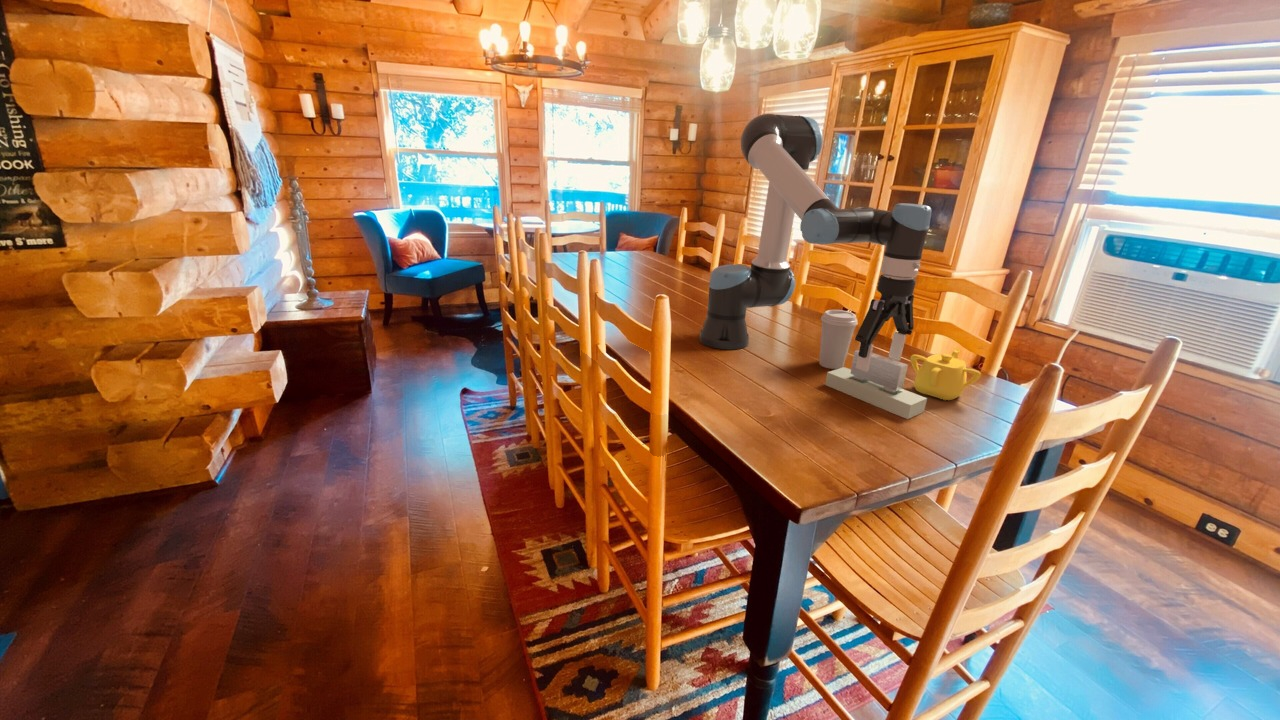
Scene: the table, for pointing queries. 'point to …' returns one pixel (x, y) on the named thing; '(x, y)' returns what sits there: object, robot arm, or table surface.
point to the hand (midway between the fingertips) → (878, 364)
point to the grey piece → (881, 372)
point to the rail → (876, 394)
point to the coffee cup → (836, 337)
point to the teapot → (942, 375)
